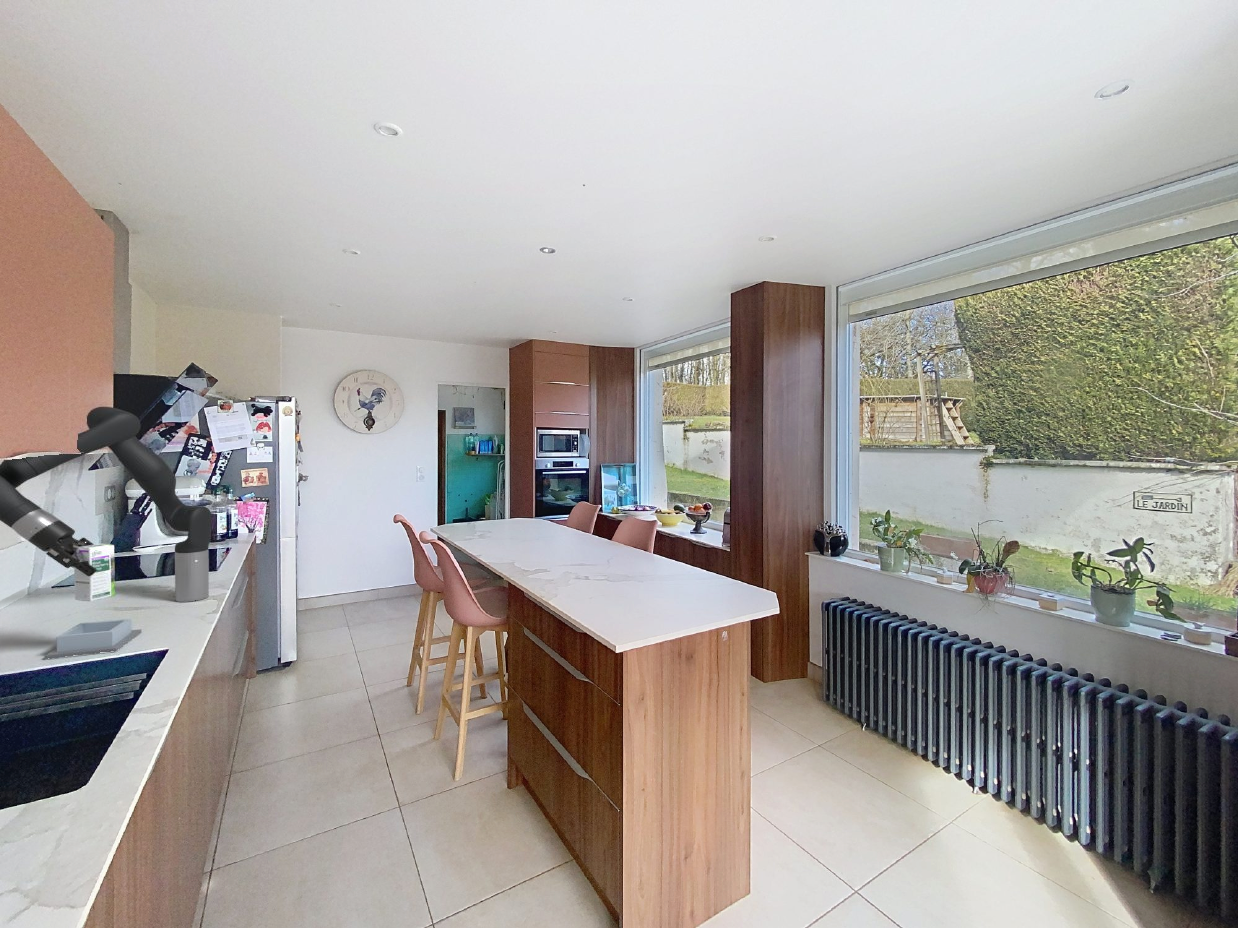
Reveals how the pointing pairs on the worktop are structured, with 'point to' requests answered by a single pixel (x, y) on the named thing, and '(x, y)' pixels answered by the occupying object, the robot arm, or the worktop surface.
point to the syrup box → (96, 573)
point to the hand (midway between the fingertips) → (101, 570)
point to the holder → (94, 638)
